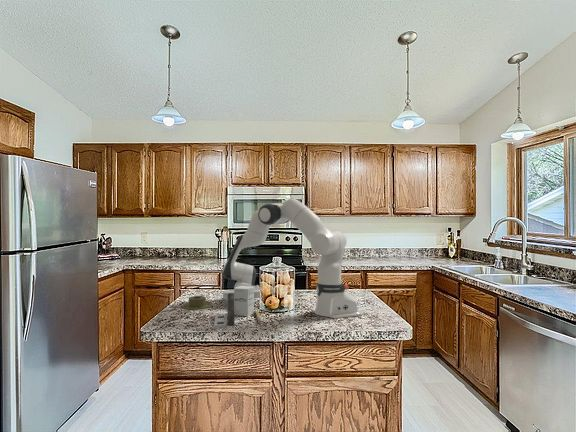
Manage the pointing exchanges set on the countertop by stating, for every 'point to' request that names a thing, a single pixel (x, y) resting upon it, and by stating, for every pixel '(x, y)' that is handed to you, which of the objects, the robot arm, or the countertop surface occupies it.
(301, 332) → the countertop surface
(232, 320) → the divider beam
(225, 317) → the gauge plate
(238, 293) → the supplement box
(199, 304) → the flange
